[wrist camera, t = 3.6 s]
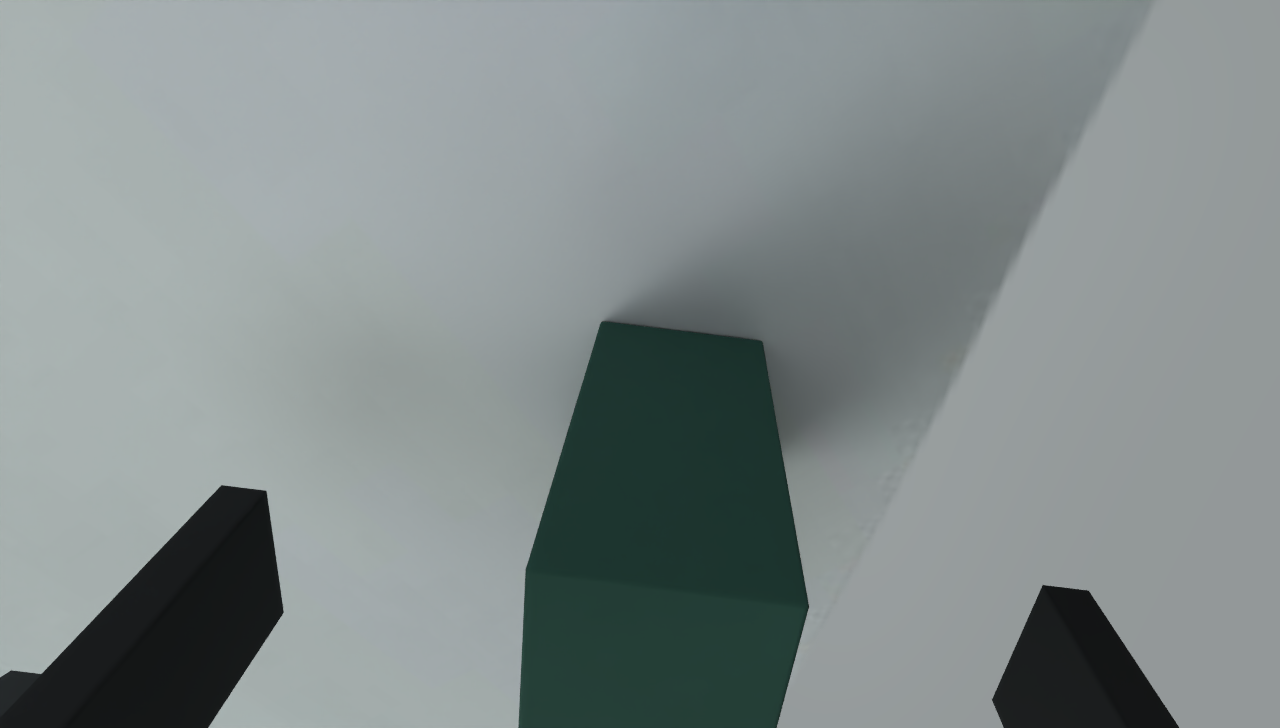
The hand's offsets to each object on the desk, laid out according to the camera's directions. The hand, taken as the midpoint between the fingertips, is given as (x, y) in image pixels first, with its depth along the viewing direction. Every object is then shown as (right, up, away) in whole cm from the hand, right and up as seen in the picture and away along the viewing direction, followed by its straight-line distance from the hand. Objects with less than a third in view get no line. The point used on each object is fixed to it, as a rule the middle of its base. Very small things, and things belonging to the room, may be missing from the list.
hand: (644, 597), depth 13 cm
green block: (+1, +3, +6) cm, 7 cm away
